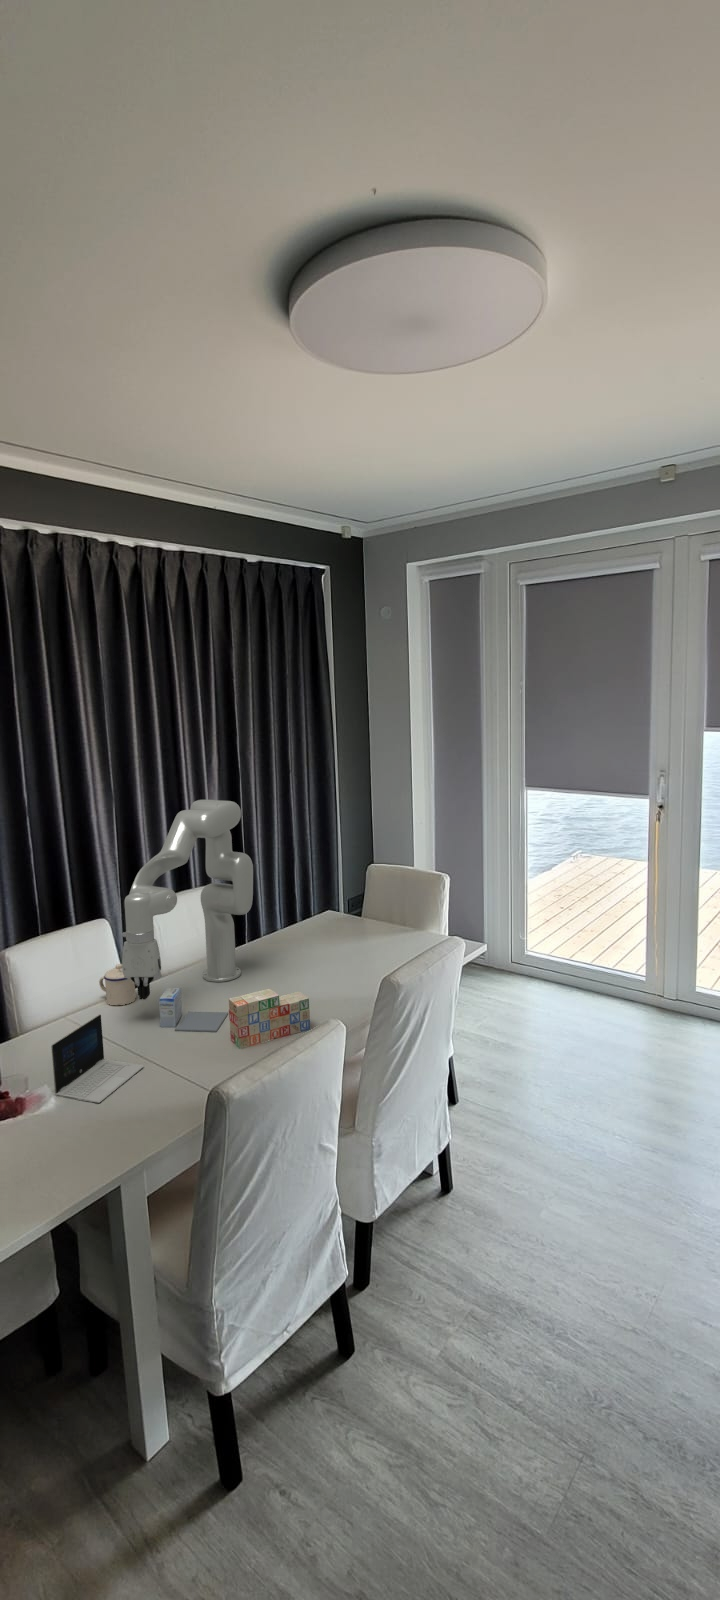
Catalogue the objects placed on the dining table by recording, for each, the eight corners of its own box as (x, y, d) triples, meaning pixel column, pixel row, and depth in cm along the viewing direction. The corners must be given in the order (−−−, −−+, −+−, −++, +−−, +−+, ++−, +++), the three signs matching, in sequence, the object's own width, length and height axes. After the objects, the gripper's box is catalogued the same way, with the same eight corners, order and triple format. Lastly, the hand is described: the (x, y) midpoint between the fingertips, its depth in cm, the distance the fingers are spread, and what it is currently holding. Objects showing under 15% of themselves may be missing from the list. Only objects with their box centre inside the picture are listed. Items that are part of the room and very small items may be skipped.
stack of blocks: (300, 1021, 213) (299, 980, 211) (310, 1029, 208) (309, 988, 206) (230, 1040, 202) (228, 997, 200) (238, 1049, 197) (236, 1005, 195)
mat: (188, 1013, 220) (188, 1011, 220) (228, 1013, 219) (228, 1012, 219) (174, 1031, 208) (174, 1029, 208) (216, 1032, 207) (216, 1030, 207)
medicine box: (167, 1015, 219) (165, 987, 217) (182, 1015, 219) (180, 987, 217) (160, 1027, 211) (158, 998, 210) (176, 1027, 211) (174, 998, 210)
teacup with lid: (142, 996, 233) (140, 961, 231) (124, 1008, 224) (122, 971, 223) (110, 992, 237) (107, 957, 235) (91, 1003, 228) (88, 967, 226)
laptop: (99, 1105, 171) (95, 1052, 170) (54, 1097, 175) (50, 1045, 174) (144, 1067, 188) (141, 1019, 187) (103, 1061, 192) (99, 1013, 190)
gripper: (109, 940, 209) (113, 1002, 211) (161, 941, 207) (164, 1003, 210) (120, 932, 216) (124, 992, 219) (170, 932, 215) (173, 993, 217)
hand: (144, 997), depth 214 cm, fingers closed
